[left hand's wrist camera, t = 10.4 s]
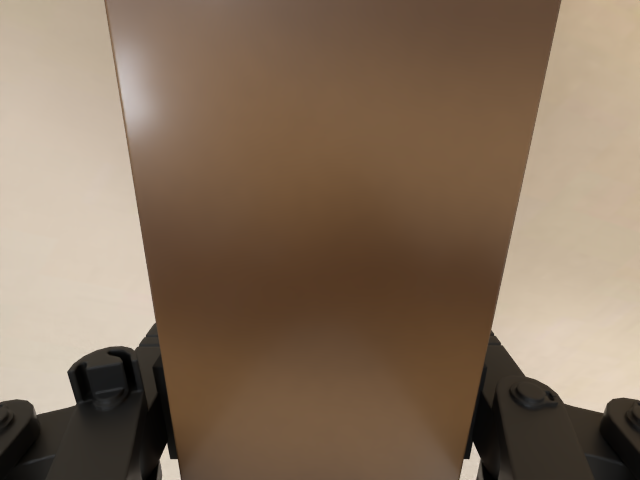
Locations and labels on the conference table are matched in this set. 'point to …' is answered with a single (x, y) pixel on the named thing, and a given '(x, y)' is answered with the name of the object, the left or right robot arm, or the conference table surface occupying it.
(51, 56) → the conference table surface
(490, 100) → the bar
